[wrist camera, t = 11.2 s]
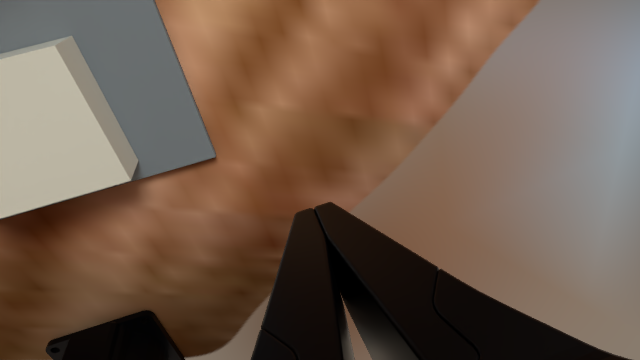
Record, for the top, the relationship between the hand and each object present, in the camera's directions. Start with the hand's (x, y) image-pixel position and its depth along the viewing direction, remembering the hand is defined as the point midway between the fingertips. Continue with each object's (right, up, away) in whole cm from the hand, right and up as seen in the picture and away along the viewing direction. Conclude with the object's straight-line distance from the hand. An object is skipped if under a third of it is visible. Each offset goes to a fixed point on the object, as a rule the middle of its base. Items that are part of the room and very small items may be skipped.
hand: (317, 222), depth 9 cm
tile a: (-9, +4, +8) cm, 13 cm away
